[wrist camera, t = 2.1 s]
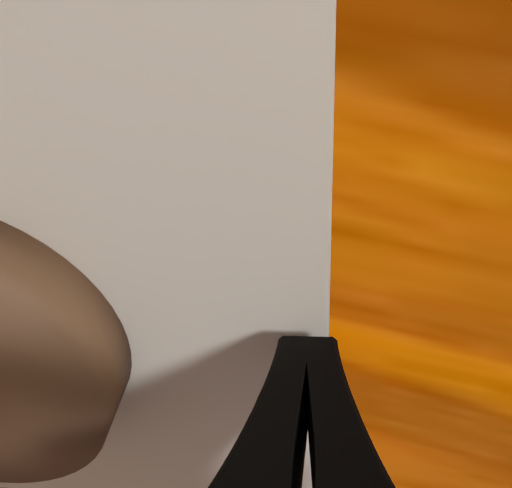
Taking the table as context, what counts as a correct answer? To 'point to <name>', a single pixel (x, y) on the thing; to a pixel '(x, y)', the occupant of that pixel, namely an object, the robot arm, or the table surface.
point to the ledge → (177, 200)
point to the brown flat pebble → (54, 362)
